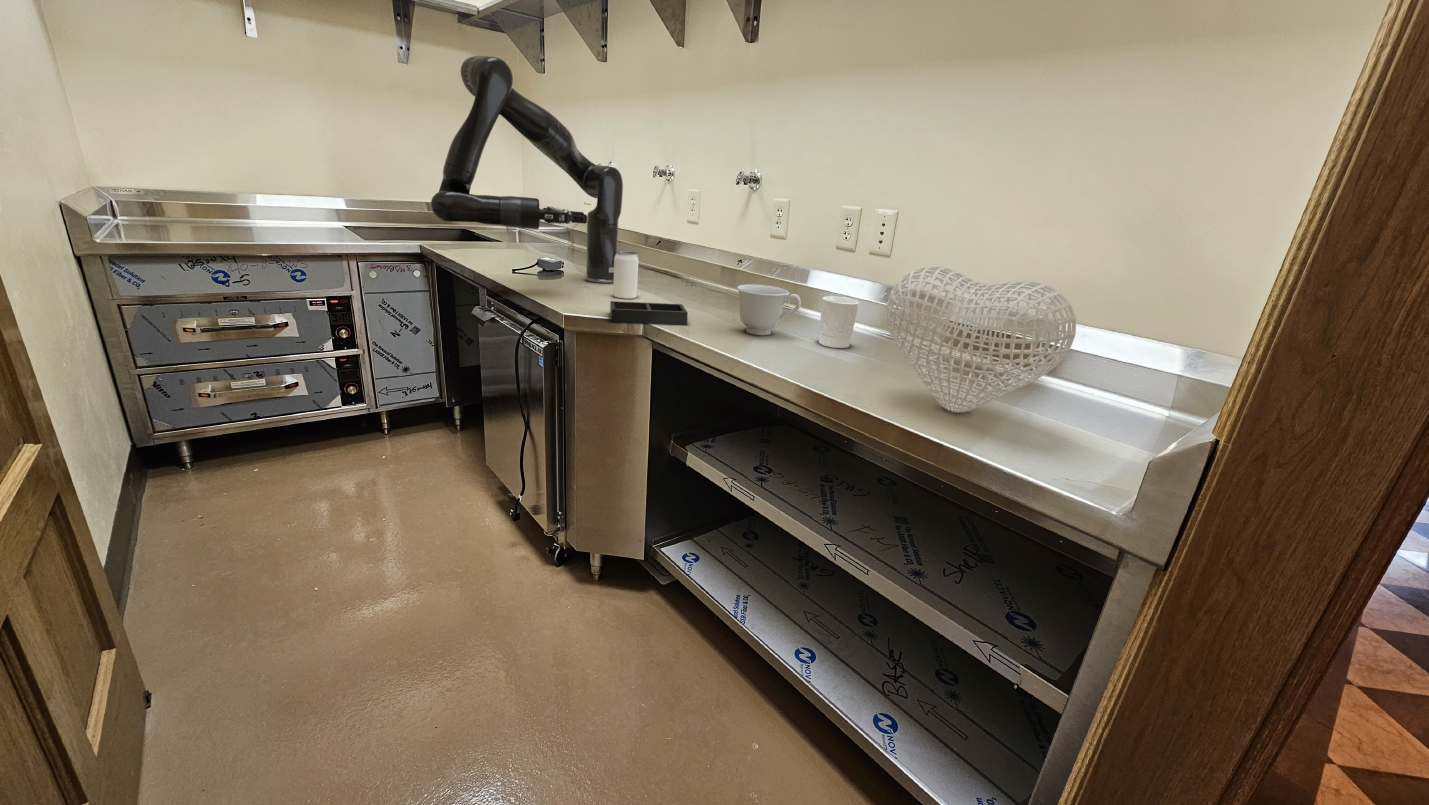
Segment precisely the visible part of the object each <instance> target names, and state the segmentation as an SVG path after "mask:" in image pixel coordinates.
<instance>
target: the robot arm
mask: <svg viewBox="0 0 1429 805" xmlns="http://www.w3.org/2000/svg"><path fill="white" fill-rule="evenodd" d="M460 78H461V81H462V83H463V85H464V87H465V88H466V90H467V91H468V92H469V93H470V94H471V95H472V96H473V97H474V100H473V103H472V106H471V108H470V111H469V113H468V115H467V117H466V118H465V120H464V122H463V124H462V125H461V126H460V127H459V129H458V131H457V132H456V134H454V137H453V139H452V141H451V143H450V145H449V148H448V151H447V155H446V158H445V161H444V164H443V168H442V180H441V183H440V186H439V189H438V191H437V193H435V194H434V195H433V196H432V198H431V200H430V208H431V211H432V213H433V214H434V216H436V217H437V218H438V219H439V220H441V221H443V222H446V223H456V222H457V223H459V222H461V223H476V224H477V223H478V224H482V225H488V226H498V227H499V226H501V227H505V228H512V229H513V228H514V229H526V230H539V229H540V221H543V222H545V223H546V224H549V225H550V224H551V225H553V224H558V225H564V224H565V225H568V224H586V276H585V279H586V281H588V282H590V283H598V284H614V258H615V255H616V251H619V250H618V246H619V219H620V216H621V213H622V207H623V195H624V193H623V192H624V181H623V176H622V174H621V172H620V170H618V169H617V168H616V167H614V166H609V165H599V164H596V163H594V162H592V161H591V160H590V159H588V158H587V157H586V156H584V155H583V153H582V152H581V151H580V150H579V148H578V146H577V144H576V141H575V138H574V137H573V135H572V133H571V132H570V130H569V129H568V128H567V127H566V126H565V125H564V124H563V123H562V122H561V121H560V120H559V119H558V118H557V117H555V116H554V115H553V114H552V113H551V112H550V111H548V110H546V108H544V107H542V106H541V105H539V104H537V103H535V102H533V101H532V100H530V99H528V98H527V97H525V96H523V95H522V94H520V93H519V91H517V90H516V89H515V88H513V86H514V76H513V72H512V69H511V68H510V66H509V65H508V64H507V62H506V61H505V60H503V59H502V58H499V57H497V56H492V55H491V56H490V55H474V56H469V57H468V58H466V59H465V60H464V61H462V63H461V66H460ZM499 116H501V117H502V118H503V119H505V120H506V121H507V122H508V123H509V124H510V125H511V126H512V127H513V128H514V129H515V130H516V131H517V132H519V134H521V135H522V136H523V137H524V138H525V139H526V140H527V141H529V143H531V145H533V147H535V148H536V149H537V150H538V151H540V152H541V153H542V154H543V155H544V156H545V157H547V158H548V159H549V160H551V161H552V162H553V163H554V164H555V165H557V167H559V168H560V169H561V170H563V172H565V173H566V174H567V175H568V176H569V177H570V178H571V179H572V180H573V182H575V184H576V185H578V187H579V188H580V189H581V190H582V191H583V192H584V193H585V194H586V195H587V196H589V197H591V198H593V199H596V205H595V207H594V208H593V209H592V210H590V211H588V212H587V214H585V213H584V212H583V211H573V210H569V209H565V208H562V207H554V206H550V205H549V206H548V205H546V207H543V208H541V207H540V199H539V198H537V197H527V196H525V197H524V196H513V195H501V196H500V195H490V194H472V193H471V188H472V185H473V182H474V180H475V177H476V174H477V171H478V168H479V165H480V162H481V157H482V155H483V152H484V150H485V146H486V145H487V142H488V140H489V137H490V135H491V133H492V130H493V129H494V127H495V124H496V122H497V120H498V119H499Z"/></svg>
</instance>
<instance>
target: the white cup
mask: <svg viewBox="0 0 1429 805" xmlns="http://www.w3.org/2000/svg"><path fill="white" fill-rule="evenodd" d="M859 305H860V301H859V300H857V299H853V298H850V297H844V296H831V295H829V296H823V297H822V298H821V311H820V319H819V338H818V343H819V344H820V345H821V346H824V347H827V348H834V349H846V348H847V349H848V348H849V347H850V345H851V340H852V335H853V332H854V328H855V323H856V319H857V314H858V310H859Z"/></svg>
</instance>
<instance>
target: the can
mask: <svg viewBox="0 0 1429 805" xmlns="http://www.w3.org/2000/svg"><path fill="white" fill-rule="evenodd" d="M638 283H639V256H638V252H636V251H629V250H618V251H616V255H615V258H614V283H613V293H612V294H613V296H614V298H617V299H623V300H634V299H636V298H637V297H638Z"/></svg>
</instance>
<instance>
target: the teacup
mask: <svg viewBox="0 0 1429 805" xmlns="http://www.w3.org/2000/svg"><path fill="white" fill-rule="evenodd" d="M736 290H737V291H738V298H739V299H738V300H739V317H740V322H741V323H742V324H743V325H744V326H746V329H745V332H746V333H748V334H750V335H756V336H770V335H771V334H772V332H771V330H772V329H774V328H776V326H778V324H779V323H780V321H781V320H782V319H783V318H784V317H785V316H790V315H793V314H795V313H796V312H798V311H799V310H800V307H801V305H802V301H801V297H800V296H799V295H798V294H797V293H792V294H790V292H789V290H788V289H785V288H783V287H778V286H774V285H773V286H772V285H766V284H751V283H749V284H747V283H746V284H740V285H738V286H736ZM787 296H788V298H787ZM792 299H793V300H795V301H796V305H795V306H794V308H792V309H791V310H787V311H785V312H783V309H784V305H785V303H786V304H789V303H790V301H791V300H792Z"/></svg>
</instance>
